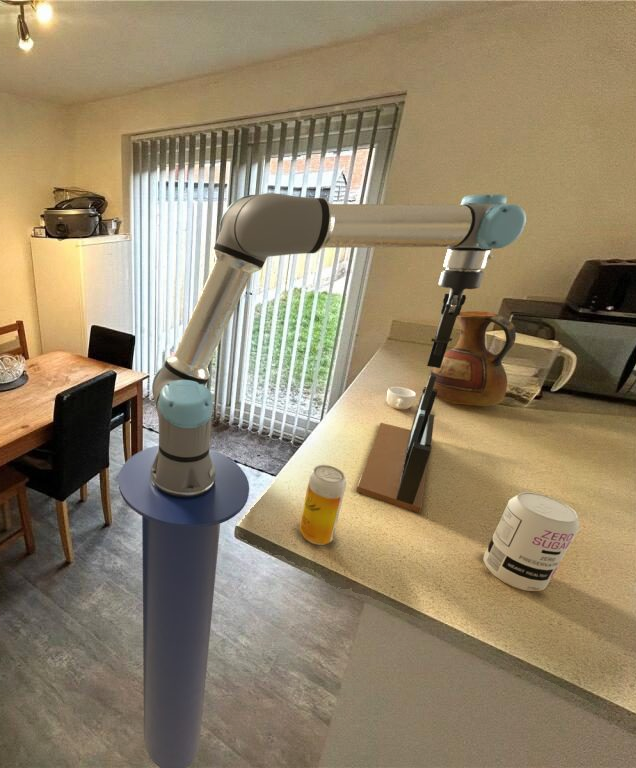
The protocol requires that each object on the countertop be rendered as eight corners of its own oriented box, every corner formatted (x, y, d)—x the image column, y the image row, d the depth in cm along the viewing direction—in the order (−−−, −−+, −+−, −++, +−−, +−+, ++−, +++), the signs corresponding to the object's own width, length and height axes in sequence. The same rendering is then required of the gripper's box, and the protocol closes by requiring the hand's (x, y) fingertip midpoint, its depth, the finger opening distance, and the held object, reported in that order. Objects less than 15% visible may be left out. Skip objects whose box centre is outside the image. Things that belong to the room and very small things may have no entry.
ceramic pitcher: (439, 384, 144) (465, 303, 132) (509, 404, 128) (546, 314, 116) (412, 396, 135) (437, 310, 123) (484, 420, 119) (521, 324, 107)
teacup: (385, 399, 133) (389, 384, 131) (412, 404, 129) (416, 390, 127) (382, 410, 126) (386, 395, 124) (411, 416, 122) (415, 401, 119)
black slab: (406, 454, 98) (429, 380, 90) (411, 428, 109) (432, 360, 101) (412, 456, 97) (436, 381, 89) (417, 430, 109) (438, 361, 101)
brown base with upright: (356, 491, 90) (371, 434, 84) (379, 426, 116) (391, 379, 110) (419, 513, 83) (440, 452, 77) (428, 439, 110) (444, 389, 104)
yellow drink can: (300, 520, 82) (312, 460, 76) (332, 530, 79) (347, 468, 73) (297, 540, 77) (309, 477, 71) (331, 551, 74) (347, 487, 68)
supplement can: (501, 550, 74) (532, 485, 68) (556, 586, 66) (596, 517, 60) (470, 561, 71) (500, 495, 65) (524, 600, 64) (563, 530, 58)
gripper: (486, 274, 82) (452, 377, 91) (483, 267, 91) (452, 361, 101) (441, 271, 86) (413, 371, 96) (443, 265, 96) (417, 356, 105)
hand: (433, 366), depth 98 cm, fingers closed
